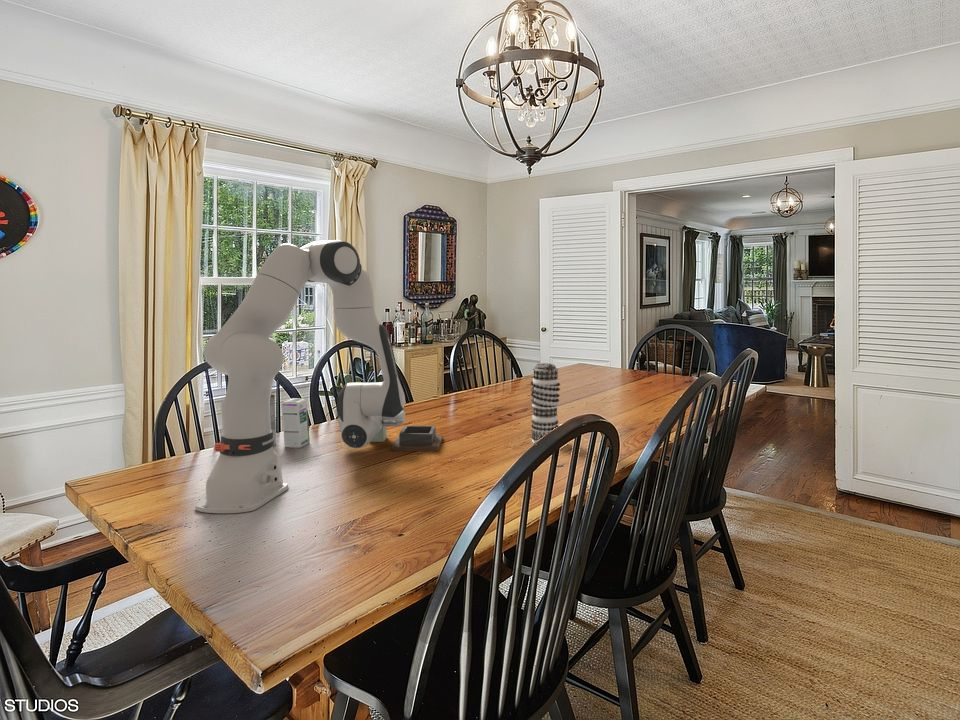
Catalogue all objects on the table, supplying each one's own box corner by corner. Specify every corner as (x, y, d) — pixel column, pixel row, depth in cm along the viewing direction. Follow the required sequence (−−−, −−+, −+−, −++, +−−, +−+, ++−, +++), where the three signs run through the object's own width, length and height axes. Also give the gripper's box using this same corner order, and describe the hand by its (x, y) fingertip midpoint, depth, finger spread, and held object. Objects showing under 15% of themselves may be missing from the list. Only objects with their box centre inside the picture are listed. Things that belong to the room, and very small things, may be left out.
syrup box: (301, 448, 177) (298, 402, 175) (283, 447, 178) (281, 401, 176) (310, 443, 182) (308, 398, 180) (293, 442, 183) (290, 397, 181)
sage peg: (383, 441, 183) (382, 395, 181) (368, 441, 184) (366, 395, 181) (386, 437, 188) (385, 392, 186) (371, 437, 188) (370, 392, 186)
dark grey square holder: (437, 451, 173) (437, 435, 173) (391, 450, 174) (391, 435, 173) (442, 438, 187) (442, 424, 186) (400, 438, 188) (399, 424, 187)
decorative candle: (551, 447, 177) (553, 367, 173) (525, 443, 181) (525, 365, 178) (563, 440, 184) (565, 363, 181) (537, 436, 189) (538, 361, 186)
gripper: (401, 412, 171) (409, 402, 185) (333, 411, 172) (346, 402, 185) (402, 432, 172) (409, 421, 186) (334, 432, 173) (346, 421, 186)
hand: (377, 411), depth 186 cm, fingers closed on sage peg, 5 cm apart
